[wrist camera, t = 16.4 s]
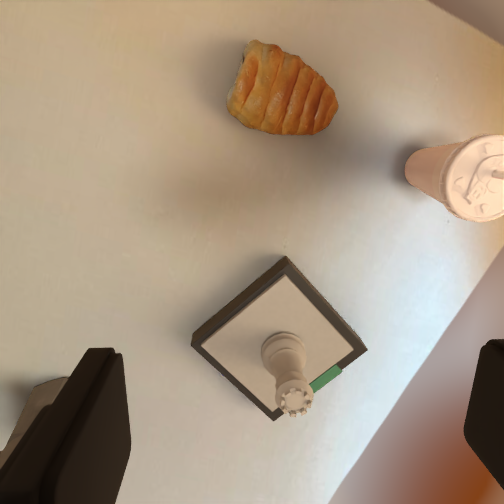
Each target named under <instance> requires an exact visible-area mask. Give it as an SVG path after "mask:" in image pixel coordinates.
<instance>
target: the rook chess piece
mask: <svg viewBox="0 0 504 504" xmlns="http://www.w3.org/2000/svg"><path fill="white" fill-rule="evenodd" d="M261 356H262V360H263V363H264V367H265V368H266V370H267V371H268V372H269V373H270V374H271V375H273V377H275V379H276V385H275V387H276V394H275V401H276V404H277V405H278V407H279V408H280V409H282V411H283V412H284V413H285V414H286V413H287V412H289V413H290V417H296V413H298V412H301V415H302V416H303V415H304V414H306V413H307V411H306V408H307V407H308V408H311V404H312V403H311V402H312V400H313V396H314V394H313V390H312V388H311V387H310V385H309V384H308V383H307V380H306V378H305V377H304V375H303V372H302V370H303V368H304V367H305V363H306V358H307V356H306V351H305V347H304V344H303V343H302V341H301V340H300V339H299V338H298V337H296V336H294V335H292V334H284V333H283V334H278V335H274V336H273V337H271V338H270V339H268V340H267V341H266V343H265V344H264V346H263V347H262V353H261Z"/></svg>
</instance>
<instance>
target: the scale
mask: <svg viewBox="0 0 504 504" xmlns="http://www.w3.org/2000/svg"><path fill="white" fill-rule="evenodd" d="M283 333H284V334H292V335H294V336H296V337H298V338H299V339H300V340H301V341H302V343H303V344H304V347H305V351H306V356H307V358H306V363H305V367H304V368H303V370H302V372H303V375H304V377H305V378H306V380H307V383H308V384H309V385H310V387H311V388H312V390H313V394H314V393H315V392H316V391H318V390H319V389H320V388H322V387H323V386H324V385H326V384H327V383H328V382H330V381H331V380H332V379H334V378H335V377H336V376H337V375H339V374H340V373H341V372H342V369H343V368H345V367H346V366H347V365H349V364H350V363H351V362H353V361H354V360H355V359H357V358H358V357H359V356H361V355H362V354H363V353H365V352H366V351H367V350H368V349H367V348H366V346H365V345H364V343H363V342H362V340H361V339H360V337H359V336H358V335H357V334H356V333H355V332H354V331H353V330H352V328H351V327H350V326H349V325H348V324H347V323H346V322H345V321H344V320H343V319H342V317H341V316H340V315H339V314H338V313H337V312H336V311H335V310H334V309H333V307H332V306H331V305H330V304H329V303H328V302H327V301H326V300H325V299H324V297H323V296H322V295H321V294H320V293H319V292H318V291H317V290H316V289H315V288H314V286H313V285H312V284H311V283H310V282H309V281H308V280H307V279H306V278H305V276H304V275H303V274H302V273H301V272H300V271H299V270H298V269H297V268H296V266H295V265H294V264H293V263H292V262H291V261H290V260H289V259H288V258H287V256H285V257H284V258H282V259H281V260H280V261H279V262H278V263H277V264H275V265H274V266H273V267H272V268H271V269H269V270H268V271H267V272H266V273H265V274H263V275H262V276H261V277H260V278H259V279H257V280H256V281H255V282H254V283H253V284H252V285H250V286H249V287H248V288H247V289H246V290H244V291H243V292H242V293H241V294H240V295H238V296H237V297H236V298H235V299H234V300H233V301H231V302H230V303H229V304H228V305H227V306H225V307H224V308H223V309H222V310H221V311H219V312H218V313H217V314H216V315H215V316H213V317H212V318H211V319H210V320H209V321H208V322H206V323H205V324H204V325H203V326H202V327H200V328H199V329H198V330H197V331H196V332H194V333H193V336H192V342H191V346H192V347H193V348H194V349H195V350H196V351H197V352H198V353H200V354H201V355H202V356H203V357H204V358H205V359H206V360H207V361H208V362H209V363H210V364H212V365H213V366H214V367H215V368H216V369H217V370H218V371H219V372H220V373H221V374H222V375H224V376H225V377H226V378H227V379H228V380H229V381H230V382H231V383H232V384H233V385H234V386H236V387H237V388H238V389H239V390H240V391H241V392H242V393H243V394H244V395H245V396H246V397H248V398H249V399H250V400H251V401H252V402H253V403H254V404H255V405H256V406H257V407H258V408H260V409H261V410H262V411H263V412H264V413H265V414H266V415H267V416H268V417H269V418H270V419H272V420H273V421H275V420H276V419H277V418H279V417H280V416H281V415H283V414H284V412H283V411H282V409H280V408H279V407H278V405H277V404H276V401H275V394H276V387H275V385H276V379H275V377H273V375H271V374H270V373H269V372H268V371H267V370H266V368H265V367H264V363H263V360H262V356H261V353H262V347H263V346H264V344H265V343H266V341H267V340H268V339H270V338H271V337H273V336H274V335H278V334H283Z"/></svg>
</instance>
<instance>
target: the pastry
mask: <svg viewBox="0 0 504 504" xmlns="http://www.w3.org/2000/svg"><path fill="white" fill-rule="evenodd" d="M226 103H227V109H228V111H229V113H230V114H231V115H233V116H234V117H236V118H237V119H238V120H239V121H240V122H241V123H242V124H243V125H245V126H246V127H248V128H253V129H258V130H260V131H265V132H267V133H270V134H281V135H285V134H291V135H313V134H315V133H317V132H320V131H321V130H323V129H325V128H326V127H327V126H328V125H329V123H330V122H331V120H332V118H333V116H334V114H335V113H336V111H337V109H338V102H337V100H336V97H335V93H334V90H333V89H332V88H331V87H330V86H329V85H328V84H327V83H326V82H325V80H324V78H323V77H322V76H320V75H319V74H318V73H317V72H316V71H314V70H313V69H312V68H311V67H310V66H308V65H306V64H305V63H304V62H303V61H302V59H301V58H300V57H299V56H296V55H290V54H288V53H286V52H283V51H282V50H281V48H280V47H279V46H277V45H274V44H263V43H261V42H259V41H258V40H252V41H250V42H249V43H248V44H247V46H246V48H245V51H244V53H243V59H242V61H241V63H240V66H239V70H238V74H237V79H236V83H235V84H234V85H233V86H232V87H231V88H230V90H229V93H228V97H227V101H226Z"/></svg>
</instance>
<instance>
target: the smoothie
mask: <svg viewBox="0 0 504 504" xmlns="http://www.w3.org/2000/svg"><path fill="white" fill-rule="evenodd" d="M405 177H406V179H407V181H408V182H409V183H410V184H411V185H413V186H414V187H416V188H418V189H419V190H421V191H423V192H424V193H426V194H428V195H429V196H431V197H433V198H434V199H436V200H438V201H439V202H441V203H443V204H444V206H445V207H446V209H447V210H448V211H449V212H450V213H452V214H453V215H454V216H456V217H458V218H461V219H464V220H469V221H473V222H486V221H490V220H494V219H496V218H499V217H501V216H502V215H504V136H503V135H494V134H483V135H478V136H474V137H472V138H470V139H468V140H466V141H464V142H460V143H454V144H448V145H443V146H437V147H431V148H425V149H420V150H418V151H416V152H414V153H413V154H412V155H411V156H410V157H409V158H408V160H407V162H406V165H405Z"/></svg>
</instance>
